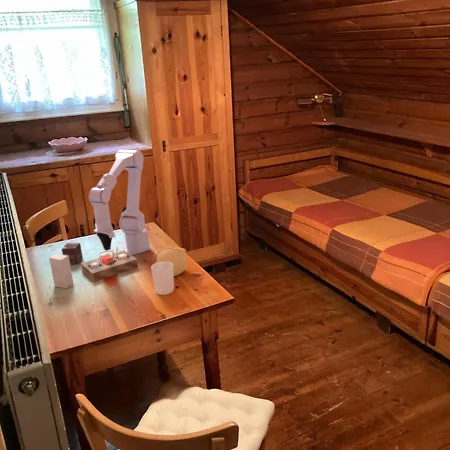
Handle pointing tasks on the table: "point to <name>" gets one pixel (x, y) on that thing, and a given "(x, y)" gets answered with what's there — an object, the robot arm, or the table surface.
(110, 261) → the salmon pink egg
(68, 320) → the table surface
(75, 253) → the box
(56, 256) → the skincare box
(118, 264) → the light brown rack
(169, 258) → the pale yellow rounded lump
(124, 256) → the cream plug
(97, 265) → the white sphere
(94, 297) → the table surface
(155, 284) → the white cup
